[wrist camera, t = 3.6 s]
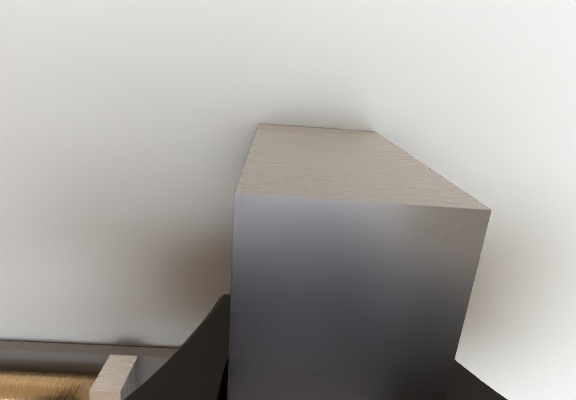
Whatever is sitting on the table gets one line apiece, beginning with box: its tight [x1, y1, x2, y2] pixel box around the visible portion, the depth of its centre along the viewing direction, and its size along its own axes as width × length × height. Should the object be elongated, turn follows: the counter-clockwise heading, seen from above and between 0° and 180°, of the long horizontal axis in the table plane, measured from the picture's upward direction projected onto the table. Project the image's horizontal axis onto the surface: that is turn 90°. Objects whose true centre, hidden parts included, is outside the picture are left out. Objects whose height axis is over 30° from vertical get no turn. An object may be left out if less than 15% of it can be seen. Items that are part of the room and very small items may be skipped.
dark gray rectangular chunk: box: [227, 123, 491, 400], centre depth 9 cm, size 3×10×6 cm, turn 176°
